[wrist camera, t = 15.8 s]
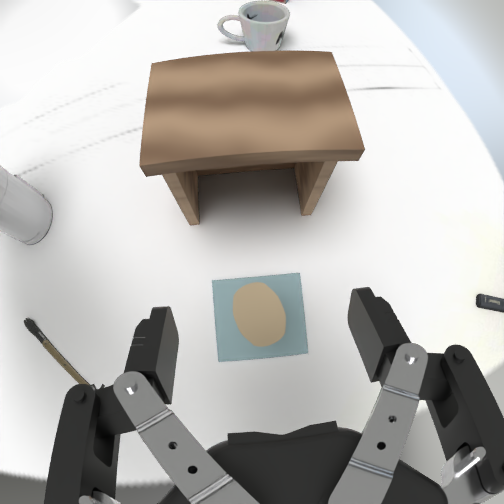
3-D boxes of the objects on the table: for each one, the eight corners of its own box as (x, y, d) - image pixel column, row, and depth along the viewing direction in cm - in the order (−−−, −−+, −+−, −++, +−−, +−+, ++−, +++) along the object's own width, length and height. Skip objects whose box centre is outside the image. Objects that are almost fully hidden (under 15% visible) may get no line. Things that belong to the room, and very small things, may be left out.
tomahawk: (122, 384, 44) (120, 385, 43) (100, 411, 42) (98, 412, 41) (43, 298, 46) (39, 297, 45) (24, 325, 45) (21, 324, 44)
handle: (249, 345, 44) (248, 353, 30) (232, 305, 46) (224, 293, 31) (280, 333, 45) (294, 334, 30) (263, 292, 46) (269, 275, 32)
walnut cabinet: (188, 169, 51) (151, 63, 27) (301, 160, 52) (331, 51, 28) (190, 243, 48) (139, 165, 24) (313, 233, 49) (364, 149, 25)
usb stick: (506, 300, 46) (511, 299, 45) (505, 313, 46) (510, 312, 44) (475, 293, 47) (480, 292, 45) (474, 307, 46) (479, 306, 45)
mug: (288, 58, 58) (293, 23, 48) (219, 60, 58) (215, 25, 48) (283, 32, 61) (286, 0, 51) (219, 34, 60) (216, 1, 51)
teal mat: (212, 280, 47) (212, 280, 46) (299, 273, 47) (299, 272, 47) (218, 361, 44) (218, 361, 44) (307, 353, 44) (308, 353, 44)
